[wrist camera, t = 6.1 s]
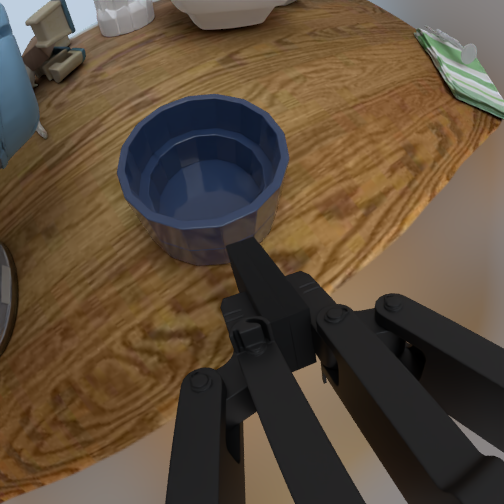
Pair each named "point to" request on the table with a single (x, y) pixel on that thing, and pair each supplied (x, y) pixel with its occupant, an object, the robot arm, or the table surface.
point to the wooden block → (36, 54)
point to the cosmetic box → (289, 0)
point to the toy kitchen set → (55, 40)
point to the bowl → (227, 12)
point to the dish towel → (462, 74)
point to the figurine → (467, 52)
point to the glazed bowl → (204, 175)
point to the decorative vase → (123, 15)
